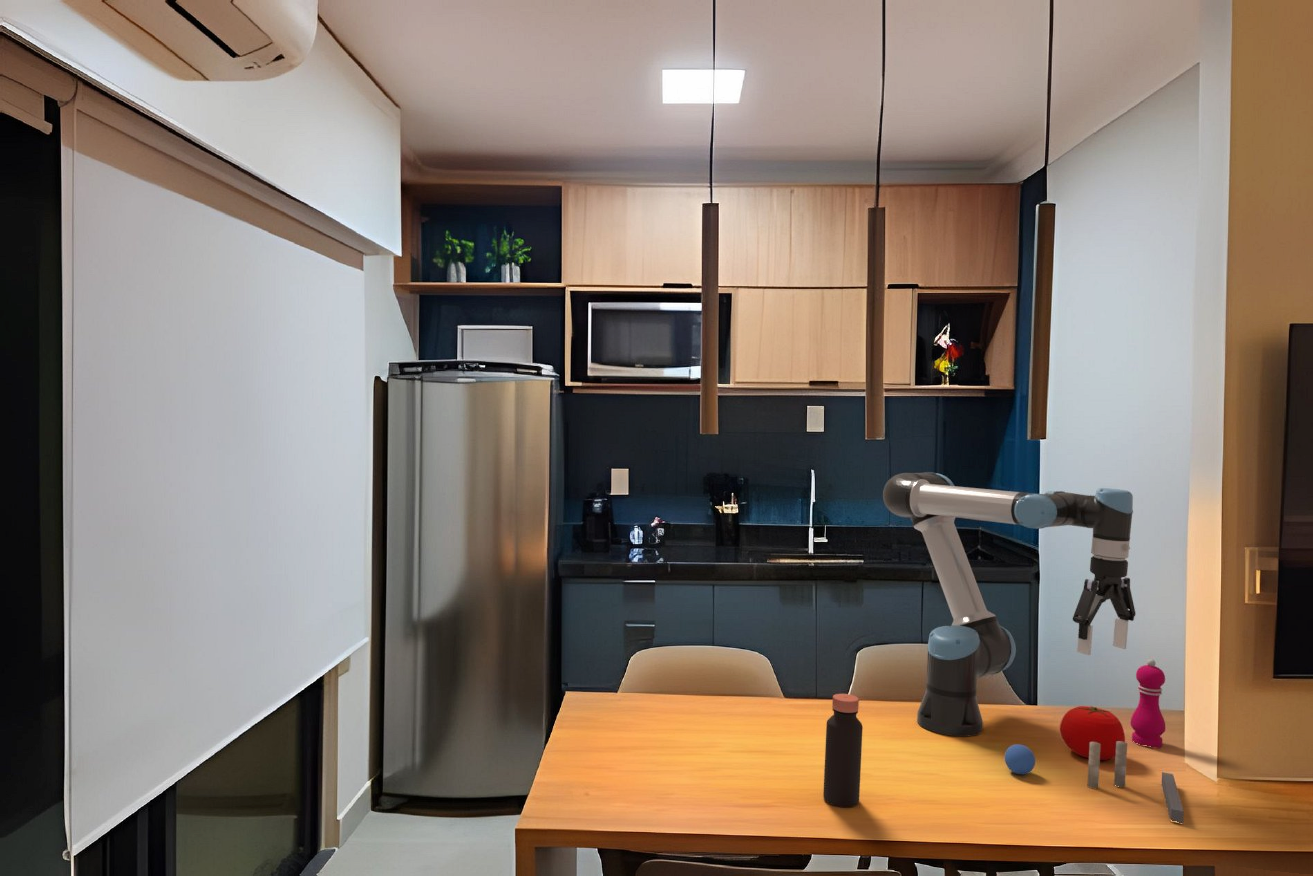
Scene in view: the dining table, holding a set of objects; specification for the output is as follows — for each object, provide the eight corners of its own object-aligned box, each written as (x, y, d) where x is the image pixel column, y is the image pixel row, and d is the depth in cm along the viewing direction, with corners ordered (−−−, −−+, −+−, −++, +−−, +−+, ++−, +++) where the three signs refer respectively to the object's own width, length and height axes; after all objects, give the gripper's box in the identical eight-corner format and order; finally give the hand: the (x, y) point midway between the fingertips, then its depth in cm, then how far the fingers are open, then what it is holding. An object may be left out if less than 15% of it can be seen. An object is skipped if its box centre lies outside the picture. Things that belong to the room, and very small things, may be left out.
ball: (1002, 775, 185) (1004, 747, 185) (1004, 765, 190) (1006, 738, 190) (1033, 781, 182) (1035, 752, 182) (1035, 771, 188) (1036, 743, 188)
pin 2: (1114, 786, 181) (1116, 743, 181) (1113, 783, 183) (1116, 740, 183) (1125, 788, 180) (1127, 745, 180) (1124, 785, 182) (1126, 742, 182)
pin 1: (1087, 787, 180) (1089, 744, 180) (1087, 784, 182) (1089, 741, 182) (1098, 789, 179) (1100, 746, 179) (1098, 786, 181) (1100, 743, 181)
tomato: (1121, 771, 190) (1124, 720, 189) (1055, 756, 197) (1058, 707, 197) (1126, 754, 200) (1129, 706, 199) (1063, 741, 207) (1066, 694, 207)
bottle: (815, 798, 170) (820, 695, 170) (839, 790, 174) (843, 690, 174) (842, 811, 165) (847, 705, 164) (866, 803, 169) (871, 699, 168)
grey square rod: (1170, 822, 166) (1171, 809, 166) (1161, 784, 184) (1162, 772, 184) (1182, 824, 165) (1183, 811, 165) (1172, 786, 183) (1173, 774, 183)
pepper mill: (1162, 751, 203) (1166, 665, 202) (1127, 743, 207) (1131, 659, 206) (1166, 743, 208) (1171, 659, 208) (1132, 735, 213) (1136, 653, 212)
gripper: (1092, 563, 189) (1084, 660, 190) (1157, 558, 202) (1149, 649, 203) (1060, 556, 195) (1052, 651, 196) (1125, 552, 208) (1118, 640, 209)
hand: (1101, 650), depth 199 cm, fingers open, 13 cm apart
